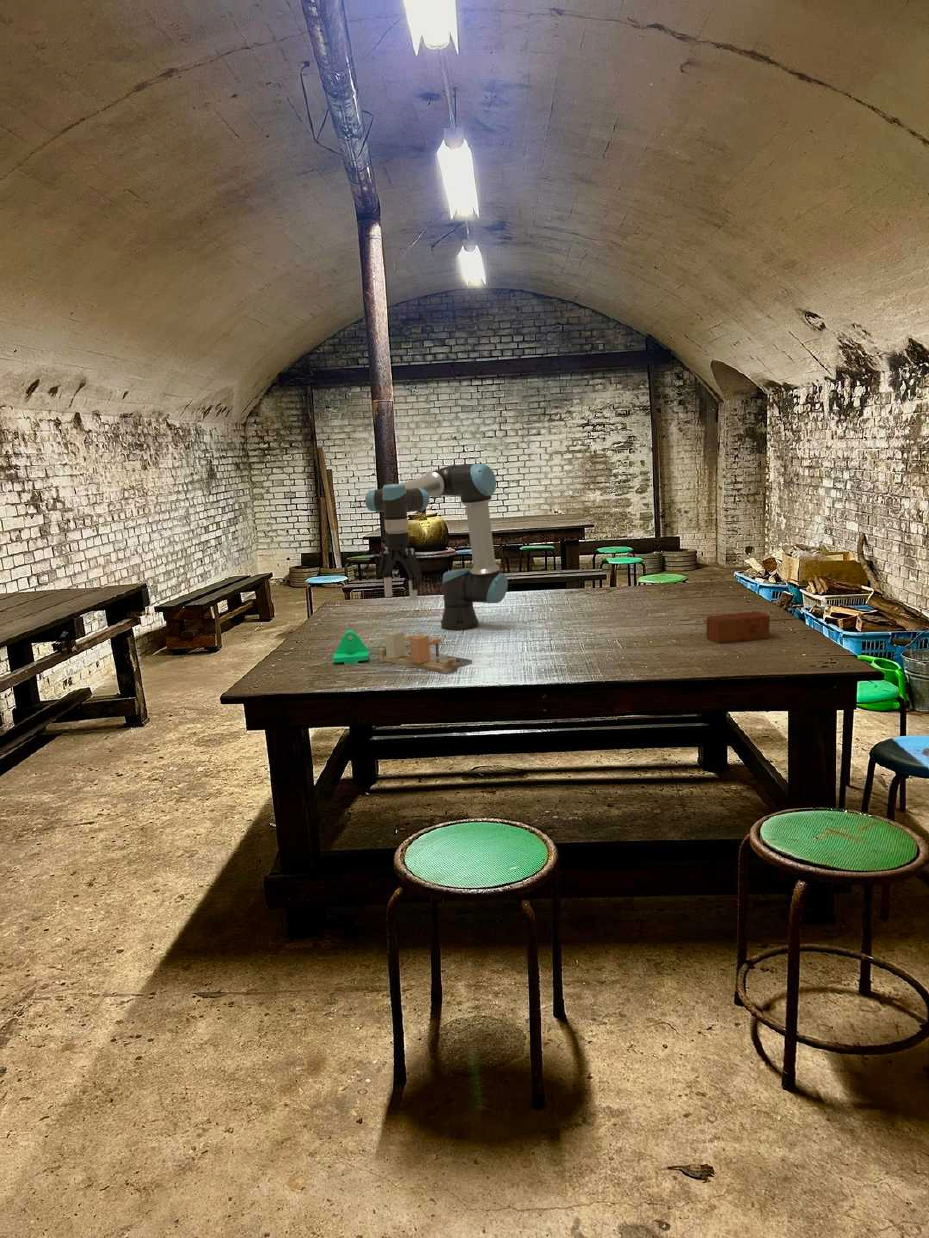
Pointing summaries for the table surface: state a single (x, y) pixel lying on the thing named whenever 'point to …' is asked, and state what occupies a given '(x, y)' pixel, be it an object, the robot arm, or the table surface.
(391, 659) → the rail
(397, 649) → the fixed leg
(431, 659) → the hole plate
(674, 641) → the table surface
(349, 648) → the camera mount
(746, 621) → the brick
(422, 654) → the slider leg
